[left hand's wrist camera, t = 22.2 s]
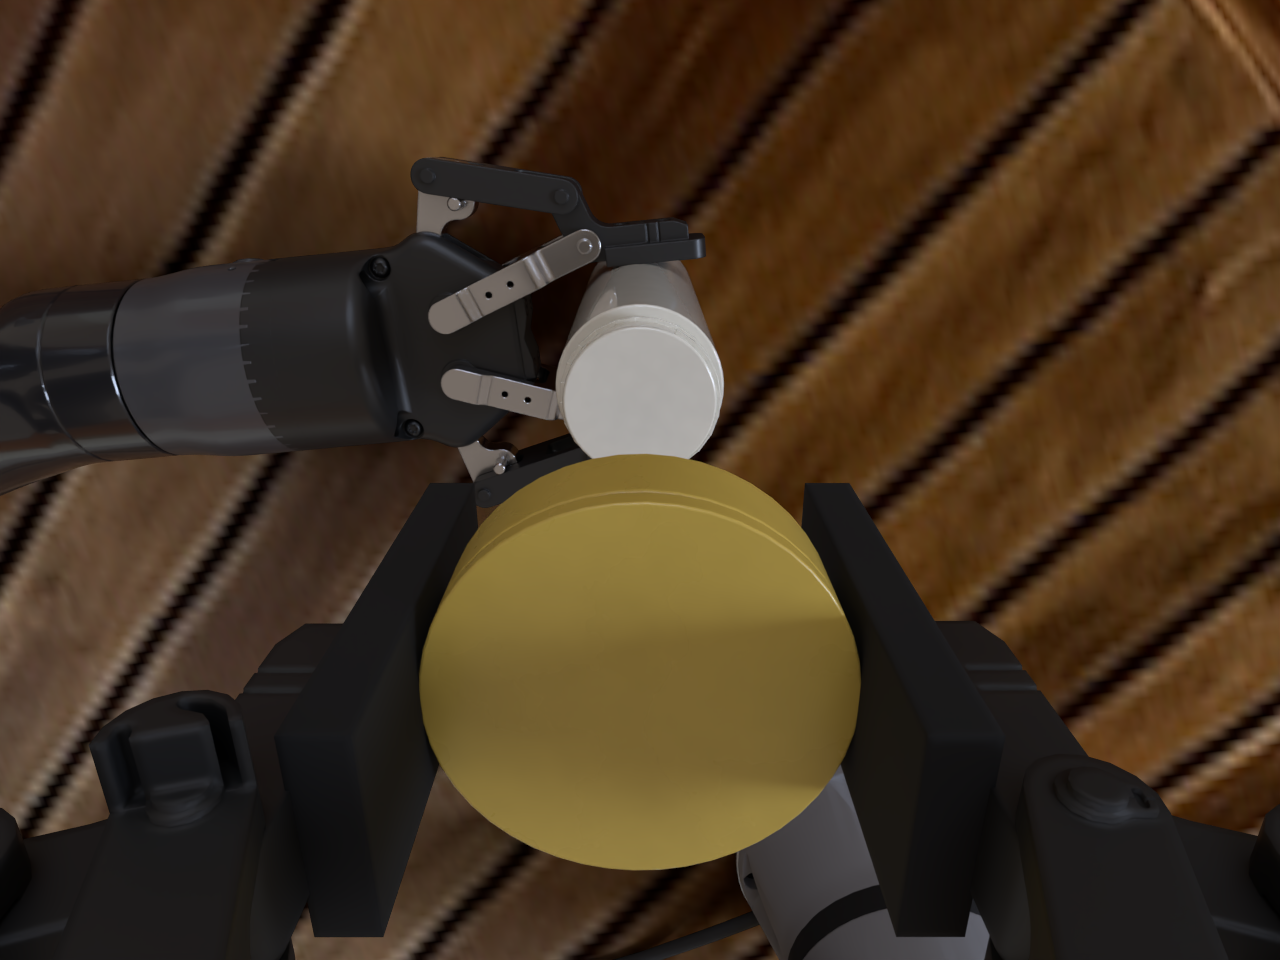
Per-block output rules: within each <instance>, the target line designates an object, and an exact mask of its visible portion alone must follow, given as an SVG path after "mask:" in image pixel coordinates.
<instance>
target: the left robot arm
mask: <svg viewBox="0 0 1280 960" xmlns="http://www.w3.org/2000/svg"><path fill="white" fill-rule="evenodd" d="M802 529H803V531H804V532H805V533H806V534H807V536H808V538H809V539H810V541H811V543H812V544H813V546H814V548H815V549H816V551H817V552H818V554H819V557H820V559H821V561H822V563H823V566H824V568H825V570H826V573H827V575H828V577H829V579H830V582H831V584H832V586H833V589H834V591H835V593H836V595H837V598H838V600H839V602H840V605H841V607H842V609H843V611H844V614H845V616H846V619H847V621H848V623H849V626H850V628H851V631H852V633H853V635H854V639H855V643H856V647H857V651H858V655H859V659H860V668H861V688H860V697H859V706H858V714H857V721H856V728H855V732H854V735H853V738H852V740H851V743H850V745H849V747H848V750H847V752H846V755H845V757H844V759H843V760H842V762H841V764H840V766H839V767H838V769H837V771H836V772H835V774H834V776H833V777H832V779H831V780H830V781H829V783H828V784H827V785H826V786H825V788H824V789H823V790H822V792H821V793H820V794H819V795H818V796H817V797H816V798H815V799H814V800H813V801H812V802H811V803H810V804H809V805H808V806H807V807H806V808H805V809H804V810H803V811H802V812H801V813H800V814H799V815H798V816H796V817H795V818H794V819H792V820H791V821H790V822H789V823H787V824H786V825H785V826H783V827H782V828H781V829H779V830H778V831H776V832H774V833H773V834H771V835H769V836H768V837H766V838H764V839H763V840H761V841H759V842H757V843H755V844H753V845H751V846H749V847H746V848H744V849H742V850H740V851H738V852H736V853H735V859H736V867H737V874H738V879H739V883H740V886H741V890H742V892H743V894H744V896H745V898H746V900H747V902H748V904H749V905H750V907H751V909H752V911H751V912H749V913H746V914H744V915H741V916H738V917H736V918H733V919H731V920H728V921H725V922H723V923H720V924H717V925H715V926H712V927H709V928H707V929H704V930H701V931H698V932H696V933H693V934H690V935H687V936H684V937H681V938H678V939H676V940H673V941H670V942H667V943H664V944H661V945H659V946H656V947H653V948H650V949H647V950H644V951H641V952H638V953H635V954H631V955H628V956H625V957H621V958H618V959H614V960H662V959H665V958H668V957H671V956H674V955H677V954H680V953H683V952H686V951H689V950H692V949H695V948H697V947H700V946H703V945H706V944H709V943H712V942H714V941H717V940H720V939H723V938H725V937H728V936H731V935H733V934H736V933H739V932H741V931H744V930H747V929H749V928H752V927H755V926H757V925H760V926H761V927H762V929H763V931H764V933H765V935H766V936H767V938H768V940H769V942H770V944H771V945H772V947H773V949H774V951H775V953H776V955H777V956H778V958H779V960H1280V804H1279V805H1277V806H1276V807H1275V808H1274V809H1272V810H1271V811H1270V812H1268V813H1267V814H1266V815H1265V818H1264V821H1263V823H1262V826H1261V829H1260V832H1259V834H1258V836H1255V835H1251V834H1246V833H1242V832H1237V831H1233V830H1229V829H1224V828H1220V827H1215V826H1211V825H1206V824H1202V823H1197V822H1193V821H1189V820H1186V819H1182V818H1179V817H1175V816H1172V815H1171V813H1170V811H1169V810H1168V808H1167V807H1166V805H1165V804H1164V803H1163V801H1162V800H1161V798H1160V797H1159V795H1158V794H1157V793H1156V792H1155V791H1154V790H1152V789H1151V788H1150V787H1149V786H1148V785H1146V784H1145V783H1144V782H1143V781H1141V780H1140V779H1139V778H1138V777H1137V776H1135V775H1133V774H1131V773H1129V772H1127V771H1125V770H1123V769H1121V768H1119V767H1117V766H1115V765H1113V764H1111V763H1108V762H1105V761H1101V760H1098V759H1094V758H1091V757H1088V755H1087V754H1086V752H1085V751H1084V750H1083V748H1082V747H1081V746H1080V744H1079V743H1078V742H1077V740H1076V739H1075V737H1074V736H1073V735H1072V733H1071V732H1070V731H1069V729H1068V728H1067V727H1066V725H1065V724H1064V722H1063V721H1062V720H1061V718H1060V717H1059V716H1058V714H1057V713H1056V711H1055V710H1054V709H1053V707H1052V706H1051V705H1050V703H1049V702H1048V701H1047V699H1046V698H1045V696H1044V695H1043V694H1042V692H1041V691H1037V689H1036V684H1035V683H1034V681H1033V680H1032V679H1031V677H1030V676H1029V675H1028V673H1027V672H1026V671H1025V670H1022V665H1021V664H1020V662H1019V661H1018V660H1017V658H1016V657H1015V656H1014V654H1013V653H1012V651H1011V650H1010V649H1009V647H1008V646H1007V645H1006V643H1005V642H1004V641H1003V640H1001V639H1000V638H998V637H997V636H995V635H994V634H992V633H991V632H990V631H988V630H987V629H985V628H984V627H982V626H981V625H979V624H978V623H976V622H975V621H934V619H933V618H932V616H931V615H930V613H929V611H928V610H927V608H926V606H925V605H924V603H923V602H922V600H921V598H920V597H919V595H918V594H917V592H916V590H915V589H914V587H913V585H912V584H911V582H910V581H909V579H908V577H907V576H906V574H905V573H904V571H903V569H902V568H901V566H900V564H899V563H898V561H897V560H896V558H895V556H894V555H893V553H892V551H891V550H890V548H889V547H888V545H887V543H886V542H885V540H884V539H883V537H882V535H881V534H880V532H879V530H878V529H877V527H876V526H875V524H874V522H873V521H872V519H871V518H870V516H869V514H868V513H867V511H866V509H865V508H864V506H863V505H862V503H861V501H860V500H859V498H858V496H857V495H856V493H855V492H854V490H853V488H852V487H851V485H850V484H849V483H805V490H804V503H803V515H802ZM477 530H478V522H477V509H476V497H475V485H474V483H430V484H429V486H428V488H427V489H426V491H425V492H424V494H423V496H422V497H421V499H420V500H419V502H418V504H417V505H416V507H415V509H414V510H413V512H412V513H411V515H410V517H409V518H408V520H407V521H406V523H405V525H404V526H403V528H402V530H401V531H400V533H399V534H398V536H397V538H396V539H395V541H394V542H393V544H392V546H391V547H390V549H389V551H388V552H387V554H386V555H385V557H384V559H383V560H382V562H381V564H380V565H379V567H378V568H377V570H376V572H375V573H374V575H373V576H372V578H371V580H370V581H369V583H368V585H367V586H366V588H365V589H364V591H363V593H362V594H361V596H360V597H359V599H358V601H357V602H356V604H355V606H354V607H353V609H352V610H351V612H350V614H349V615H348V617H347V619H346V620H345V622H344V623H343V624H304V625H303V626H301V627H300V628H299V629H297V630H296V631H294V632H293V633H291V634H290V635H288V636H287V637H286V638H284V639H283V640H281V641H280V642H278V643H277V644H276V645H275V646H274V647H273V649H272V650H271V651H270V653H269V654H268V655H267V657H266V658H265V660H264V661H263V662H262V664H261V665H260V666H259V668H258V673H254V675H253V676H252V677H251V679H250V680H249V682H248V683H247V684H246V686H245V687H244V692H243V693H240V694H239V695H238V697H237V698H236V699H235V700H234V699H233V698H232V697H230V696H229V695H228V694H223V693H219V692H214V691H210V690H198V691H181V692H177V693H173V694H169V695H165V696H161V697H157V698H153V699H151V700H149V701H146V702H144V703H142V704H140V705H138V706H135V707H133V708H131V709H129V710H126V711H125V712H123V713H122V714H120V715H119V716H118V717H116V718H115V719H113V720H112V721H111V722H109V723H108V724H106V725H105V726H104V727H102V729H101V730H100V731H99V733H98V734H97V735H96V736H95V738H94V739H93V740H92V742H91V743H90V744H89V747H90V750H91V754H92V757H93V760H94V763H95V767H96V770H97V773H98V776H99V780H100V783H101V786H102V789H103V793H104V796H105V799H106V802H107V806H108V809H109V812H110V815H109V817H108V819H106V820H103V821H99V822H96V823H92V824H89V825H85V826H80V827H76V828H71V829H67V830H62V831H58V832H54V833H49V834H45V835H40V836H36V837H31V838H27V839H22V836H21V834H20V831H19V828H18V825H17V823H16V820H15V818H14V817H13V816H11V815H10V814H9V813H8V812H6V811H5V810H4V809H2V808H0V960H295V954H294V949H293V944H292V940H291V936H292V934H293V932H294V929H295V927H296V925H297V922H298V920H299V918H300V916H301V913H302V911H303V909H304V907H305V904H306V902H307V903H308V908H309V913H310V917H311V922H312V927H313V932H314V937H383V936H384V933H385V930H386V927H387V924H388V921H389V918H390V914H391V911H392V908H393V905H394V902H395V899H396V896H397V893H398V890H399V887H400V884H401V880H402V877H403V874H404V871H405V868H406V865H407V862H408V859H409V856H410V853H411V850H412V846H413V843H414V840H415V837H416V834H417V831H418V828H419V825H420V822H421V819H422V816H423V812H424V809H425V806H426V803H427V800H428V797H429V794H430V791H431V788H432V785H433V781H434V778H435V775H436V772H437V769H438V766H439V762H438V760H437V758H436V756H435V754H434V752H433V750H432V748H431V746H430V742H429V739H428V736H427V733H426V730H425V727H424V724H423V717H422V709H421V701H420V692H419V670H420V663H421V657H422V650H423V647H424V644H425V641H426V637H427V634H428V631H429V628H430V625H431V623H432V621H433V618H434V616H435V614H436V612H437V609H438V607H439V605H440V602H441V600H442V598H443V595H444V593H445V591H446V588H447V586H448V584H449V582H450V579H451V577H452V575H453V572H454V570H455V568H456V566H457V564H458V562H459V560H460V558H461V556H462V554H463V552H464V550H465V548H466V546H467V544H468V542H469V541H470V540H471V538H472V537H473V535H474V534H475V533H476V531H477Z"/></svg>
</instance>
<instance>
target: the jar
mask: <svg viewBox="0 0 1280 960" xmlns="http://www.w3.org/2000/svg"><path fill="white" fill-rule="evenodd" d="M723 392H724V379H723V371H722V367H721V362H720V360H719V357H718V354H717V351H716V349H715V346H714V343H713V341H712V338H711V335H710V332H709V330H708V327H707V324H706V321H705V319H704V316H703V313H702V311H701V308H700V305H699V302H698V300H697V297H696V294H695V292H694V289H693V286H692V283H691V281H690V278H689V275H688V273H687V271H686V269H685V267H684V266H683V264H682V263H681V262H680V261H679V260H677V261H667V262H657V263H647V264H633V265H626V266H617V267H607V264H606V261H602V262H598V264H597V265H596V266H595V268H594V270H593V272H592V274H591V276H590V279H589V282H588V284H587V287H586V290H585V293H584V295H583V298H582V301H581V303H580V306H579V309H578V312H577V314H576V317H575V320H574V323H573V325H572V328H571V331H570V333H569V336H568V339H567V342H566V344H565V347H564V350H563V353H562V355H561V358H560V361H559V364H558V369H557V374H556V396H557V402H558V406H559V409H560V413H561V415H562V417H563V419H564V423H565V425H566V427H567V429H568V431H569V432H570V434H571V436H572V438H573V439H574V442H575V443H576V444H577V445H578V446H579V447H580V448H581V449H582V450H583V451H584V452H585V453H586V454H587V455H588V456H589V457H590V458H592V459H595V458H601V457H607V456H614V455H624V454H655V455H666V456H675V457H680V458H685V459H690V458H691V457H692V456H693V455H694V454H696V453H697V452H699V451H700V449H701V448H702V447H703V445H704V444H705V443H706V441H707V440H708V438H709V437H710V436H711V435H712V432H713V430H714V427H715V424H716V422H717V419H718V417H719V411H720V408H721V405H722V399H723Z"/></svg>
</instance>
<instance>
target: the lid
mask: <svg viewBox="0 0 1280 960" xmlns="http://www.w3.org/2000/svg"><path fill="white" fill-rule="evenodd" d="M860 688H861V668H860V659H859V655H858V651H857V647H856V643H855V639H854V635H853V633H852V631H851V628H850V626H849V623H848V621H847V619H846V616H845V614H844V611H843V609H842V607H841V605H840V602H839V600H838V598H837V595H836V593H835V591H834V589H833V586H832V584H831V582H830V579H829V577H828V575H827V573H826V570H825V568H824V566H823V563H822V561H821V559H820V557H819V554H818V552H817V551H816V549H815V548H814V546H813V544H812V543H811V541H810V539H809V538H808V536H807V534H806V533H805V532H804V531H803V529H802V528H801V527H800V526H799V525H798V523H797V522H796V521H795V520H794V518H793V517H792V516H791V515H790V514H789V513H788V512H787V511H786V510H785V509H784V508H782V507H781V506H780V505H779V504H778V503H777V502H776V501H775V500H774V499H773V498H771V497H770V496H768V495H767V494H765V493H764V492H763V491H761V490H760V489H758V488H757V487H755V486H754V485H752V484H751V483H749V482H747V481H745V480H743V479H741V478H739V477H737V476H735V475H733V474H731V473H729V472H727V471H725V470H722V469H719V468H716V467H714V466H711V465H708V464H705V463H702V462H698V461H694V460H689V459H685V458H680V457H675V456H666V455H655V454H624V455H614V456H607V457H601V458H595V459H590V460H586V461H583V462H579V463H576V464H572V465H569V466H565V467H563V468H561V469H558V470H556V471H554V472H552V473H549V474H547V475H545V476H542V477H540V478H538V479H537V480H535V481H533V482H532V483H530V484H528V485H527V486H525V487H523V488H522V489H520V490H518V491H517V492H516V493H515V494H513V495H512V496H511V497H510V498H508V499H507V500H506V501H505V502H503V503H502V504H501V505H500V506H498V507H497V508H496V509H495V510H494V512H493V513H492V514H491V515H490V516H489V517H488V518H487V519H486V520H485V521H484V522H483V523H482V524H481V525H480V527H479V528H478V530H477V531H476V533H475V534H474V535H473V537H472V538H471V540H470V541H469V542H468V544H467V546H466V548H465V550H464V552H463V554H462V556H461V558H460V560H459V562H458V564H457V566H456V568H455V570H454V572H453V575H452V577H451V579H450V582H449V584H448V586H447V588H446V591H445V593H444V595H443V598H442V600H441V602H440V605H439V607H438V609H437V612H436V614H435V616H434V618H433V621H432V623H431V625H430V628H429V631H428V634H427V637H426V641H425V644H424V647H423V650H422V657H421V663H420V670H419V692H420V701H421V709H422V717H423V724H424V727H425V730H426V733H427V736H428V739H429V742H430V746H431V748H432V750H433V752H434V754H435V756H436V758H437V760H438V762H439V764H440V766H441V768H442V769H443V771H444V772H445V773H446V775H447V776H448V778H449V779H450V781H451V782H452V784H453V785H454V787H455V788H456V789H457V790H458V791H459V792H460V793H461V795H462V796H463V797H464V798H465V799H466V800H467V801H468V802H469V804H470V805H471V806H472V807H474V808H475V809H476V810H477V811H478V812H479V813H481V814H482V815H483V816H484V817H485V818H486V819H487V820H489V821H490V822H491V823H493V824H494V825H496V826H497V827H499V828H500V829H501V830H503V831H504V832H506V833H507V834H509V835H510V836H512V837H514V838H516V839H518V840H520V841H522V842H524V843H525V844H527V845H529V846H531V847H533V848H535V849H538V850H541V851H543V852H546V853H548V854H551V855H553V856H556V857H559V858H562V859H566V860H569V861H573V862H577V863H580V864H585V865H590V866H596V867H602V868H608V869H621V870H662V869H670V868H678V867H686V866H690V865H695V864H699V863H703V862H708V861H712V860H715V859H718V858H721V857H724V856H727V855H730V854H733V853H736V852H738V851H740V850H742V849H744V848H746V847H749V846H751V845H753V844H755V843H757V842H759V841H761V840H763V839H764V838H766V837H768V836H769V835H771V834H773V833H774V832H776V831H778V830H779V829H781V828H782V827H783V826H785V825H786V824H787V823H789V822H790V821H791V820H792V819H794V818H795V817H796V816H798V815H799V814H800V813H801V812H802V811H803V810H804V809H805V808H806V807H807V806H808V805H809V804H810V803H811V802H812V801H813V800H814V799H815V798H816V797H817V796H818V795H819V794H820V793H821V792H822V790H823V789H824V788H825V786H826V785H827V784H828V783H829V781H830V780H831V779H832V777H833V776H834V774H835V772H836V771H837V769H838V767H839V766H840V764H841V762H842V760H843V759H844V757H845V755H846V752H847V750H848V747H849V745H850V743H851V740H852V738H853V735H854V732H855V728H856V721H857V714H858V706H859V697H860Z"/></svg>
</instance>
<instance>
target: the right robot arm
mask: <svg viewBox="0 0 1280 960" xmlns="http://www.w3.org/2000/svg"><path fill="white" fill-rule="evenodd" d="M411 180H412V183H413V185H414V186H415V187H416V189H417V190H418V210H417V233H414V234H412V235H410V236H408V237H407V238H405V239H404V240H403V241H402V242H400V243H399V244H397V245H396V246H392V247H387V248H378V249H368V250H358V251H348V252H338V253H328V254H318V255H308V256H299V257H288V258H278V259H269V260H263V259H240V260H237V261H236V262H233V263H229V264H219V265H210V266H203V267H196V268H192V269H187V270H183V271H180V272H176V273H172V274H168V275H164V276H159V277H154V278H147V279H137V280H127V281H117V282H107V283H97V284H87V285H79V286H68V287H59V288H50V289H43V290H38V291H34V292H29V293H26V294H23V295H21V296H19V297H17V298H15V299H13V300H11V301H9V302H8V303H6V304H5V305H4V306H3V307H2V308H1V309H0V496H1V495H4V494H6V493H8V492H11V491H13V490H16V489H18V488H21V487H23V486H26V485H28V484H31V483H34V482H36V481H39V480H42V479H45V478H48V477H51V476H54V475H57V474H60V473H63V472H66V471H69V470H72V469H75V468H78V467H81V466H85V465H89V464H94V463H101V462H111V461H121V460H132V459H143V458H154V457H165V456H176V455H194V454H195V455H217V456H244V455H256V454H267V453H278V452H289V451H300V450H311V449H322V448H332V447H343V446H354V445H365V444H377V443H388V442H399V441H407V440H414V439H429V440H434V441H437V442H440V443H442V444H445V445H447V446H451V447H458V449H459V452H460V454H461V456H462V458H463V460H464V462H465V465H466V467H467V469H468V471H469V473H470V475H471V478H472V480H473V483H474V485H475V497H476V505H477V506H479V507H482V508H488V507H492V506H495V505H498V504H501V503H503V502H505V501H506V500H507V499H508V498H510V497H511V496H512V495H513V494H515V493H516V492H517V491H518V490H520V489H522V488H523V487H525V486H527V485H528V484H530V483H532V482H533V481H535V480H537V479H538V478H540V477H542V476H545V475H547V474H549V473H552V472H554V471H556V470H558V469H561V468H563V467H565V466H569V465H572V464H576V463H579V462H583V461H586V460H590V459H592V458H590V457H589V456H588V455H587V454H586V453H585V452H584V451H583V450H582V449H581V448H580V447H579V446H578V445H577V444H576V443H575V442H574V439H573V438H572V436H571V434H570V433H569V434H566V435H563V436H560V437H557V438H554V439H551V440H548V441H545V442H542V443H539V444H536V445H533V446H530V447H527V448H524V449H521V450H518V449H517V448H516V447H515V446H514V445H513V444H511V443H508V442H501V443H493V442H490V441H488V440H487V439H485V438H484V436H483V435H484V434H485V433H486V432H487V431H488V430H489V429H491V428H492V427H493V426H494V425H495V424H496V423H497V422H498V421H499V420H501V419H502V418H503V417H504V416H505V415H506V414H507V413H508V412H510V411H513V412H517V413H521V414H525V415H529V416H533V417H538V418H542V419H546V420H556V419H563V417H562V415H561V413H560V409H559V406H558V402H557V396H556V374H557V369H558V367H554V366H550V365H546V364H542V363H541V361H540V354H539V347H538V345H537V342H536V340H535V338H534V335H533V333H532V331H531V321H532V312H533V305H532V298H531V293H532V292H534V291H536V290H538V289H540V288H542V287H544V286H546V285H547V284H549V283H550V282H552V281H554V280H556V279H558V278H560V277H562V276H564V275H566V274H568V273H570V272H572V271H574V270H576V269H578V268H580V267H582V266H584V265H586V264H588V263H592V262H602V261H606V264H607V267H617V266H626V265H633V264H647V263H657V262H667V261H677V260H687V259H697V258H702V257H705V256H706V249H705V237H704V235H703V234H702V233H690V234H688V225H687V223H686V221H683V220H679V219H676V218H673V217H671V218H661V219H651V220H641V221H631V222H621V223H610V224H608V223H604V222H601V221H599V220H598V219H596V218H595V217H594V215H593V214H592V213H591V211H590V209H589V207H588V204H587V202H586V200H585V198H584V196H583V194H582V188H581V186H580V184H579V182H578V181H577V180H575V179H574V178H572V177H568V176H561V175H555V174H549V173H542V172H536V171H529V170H523V169H517V168H510V167H504V166H497V165H491V164H484V163H478V162H472V161H465V160H459V159H452V158H446V157H430V158H422V159H420V160H418V161H416V162H415V163H414V165H413V166H412V169H411ZM479 202H482V203H489V204H495V205H502V206H508V207H515V208H521V209H528V210H534V211H541V212H548V213H552V215H553V217H554V219H555V221H556V223H557V225H558V227H559V229H560V231H561V233H562V235H560V236H558V237H556V238H554V239H552V240H550V241H548V242H546V243H544V244H542V245H539V246H537V247H535V248H533V249H531V250H529V251H527V252H525V253H523V254H521V255H519V256H517V257H515V258H513V259H511V260H509V261H507V262H505V263H503V264H499V263H497V262H496V261H494V260H492V259H490V258H489V257H487V256H485V255H483V254H482V253H480V252H478V251H477V250H475V249H473V248H471V247H470V246H468V245H466V244H465V243H463V242H461V241H459V240H458V239H456V238H454V237H453V236H451V235H449V234H447V233H446V230H447V227H448V225H449V223H450V222H451V221H452V220H461V219H465V218H467V217H470V216H472V215H473V214H474V213H475V212H476V210H477V208H478V205H479ZM537 377H538V378H539V380H537ZM527 397H530V398H531V399H527ZM563 420H564V419H563Z"/></svg>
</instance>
